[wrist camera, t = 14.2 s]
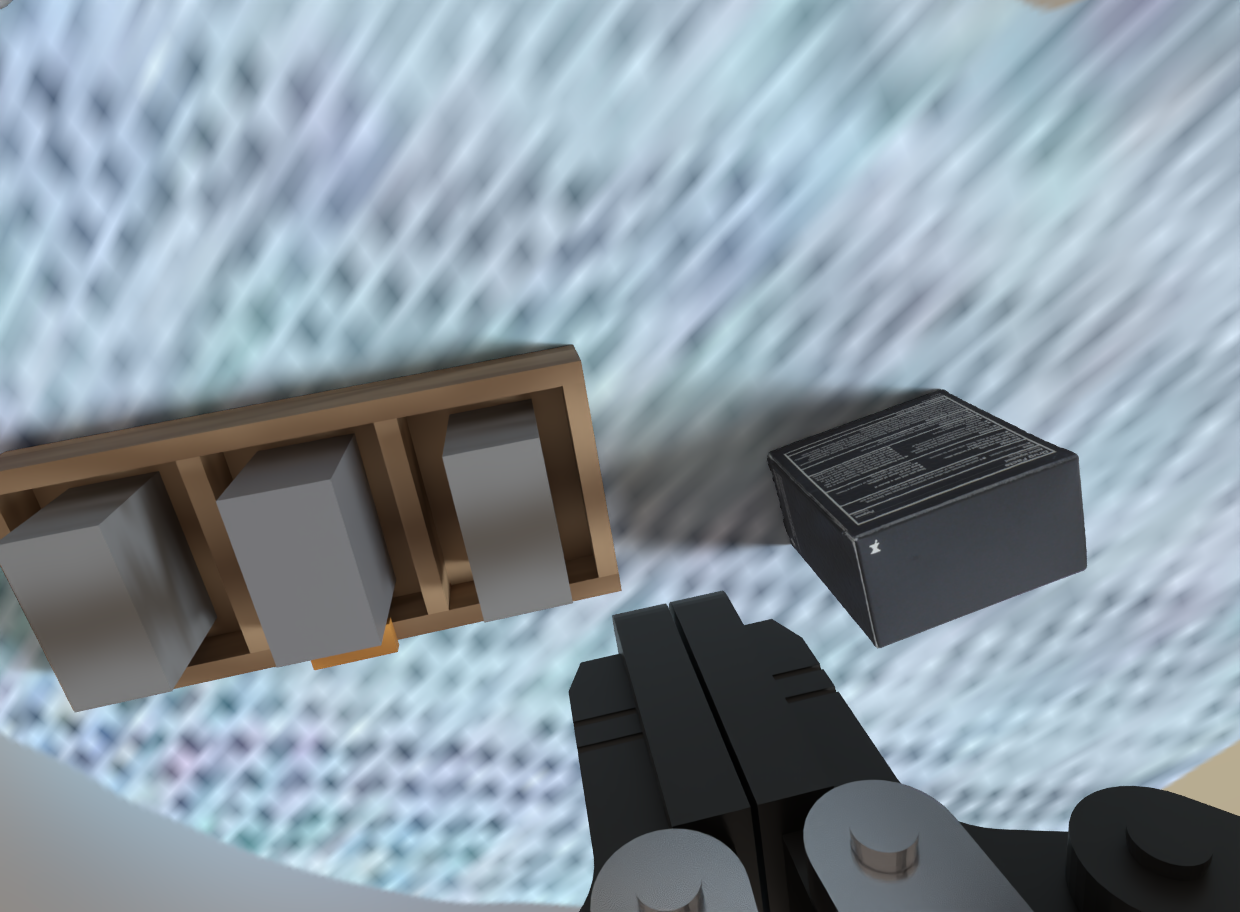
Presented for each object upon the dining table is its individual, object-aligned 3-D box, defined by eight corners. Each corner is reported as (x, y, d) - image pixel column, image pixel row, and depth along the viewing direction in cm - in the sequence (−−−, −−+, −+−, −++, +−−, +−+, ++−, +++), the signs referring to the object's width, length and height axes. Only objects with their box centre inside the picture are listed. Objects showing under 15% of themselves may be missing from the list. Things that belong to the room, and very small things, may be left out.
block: (257, 451, 36) (215, 501, 31) (354, 433, 37) (330, 479, 31) (306, 597, 39) (276, 667, 34) (396, 579, 40) (381, 645, 34)
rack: (5, 451, 36) (-103, 513, 29) (573, 344, 38) (590, 379, 32) (109, 671, 40) (36, 768, 34) (612, 563, 43) (634, 633, 36)
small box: (789, 552, 44) (875, 659, 34) (762, 451, 42) (846, 536, 32) (962, 488, 45) (1095, 576, 35) (945, 384, 42) (1082, 448, 32)
